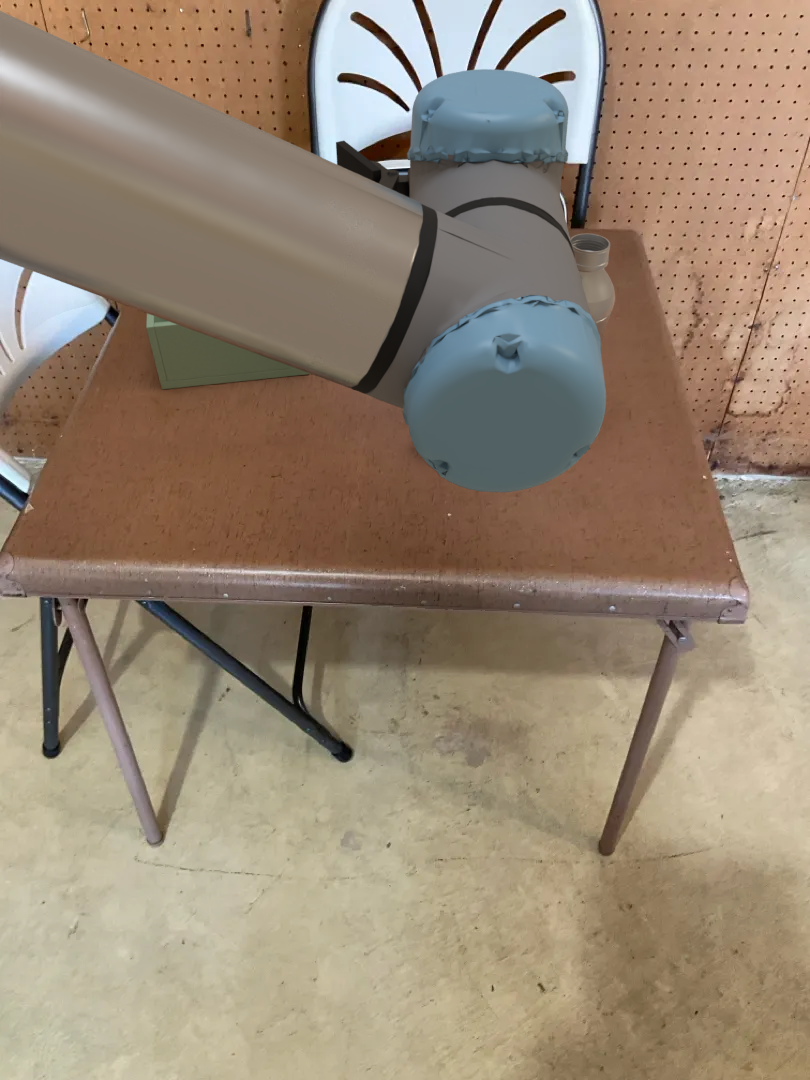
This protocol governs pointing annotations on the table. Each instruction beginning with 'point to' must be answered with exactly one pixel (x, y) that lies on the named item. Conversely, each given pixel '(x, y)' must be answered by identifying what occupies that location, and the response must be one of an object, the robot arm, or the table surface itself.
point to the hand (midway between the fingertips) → (265, 174)
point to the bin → (205, 358)
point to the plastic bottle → (595, 276)
